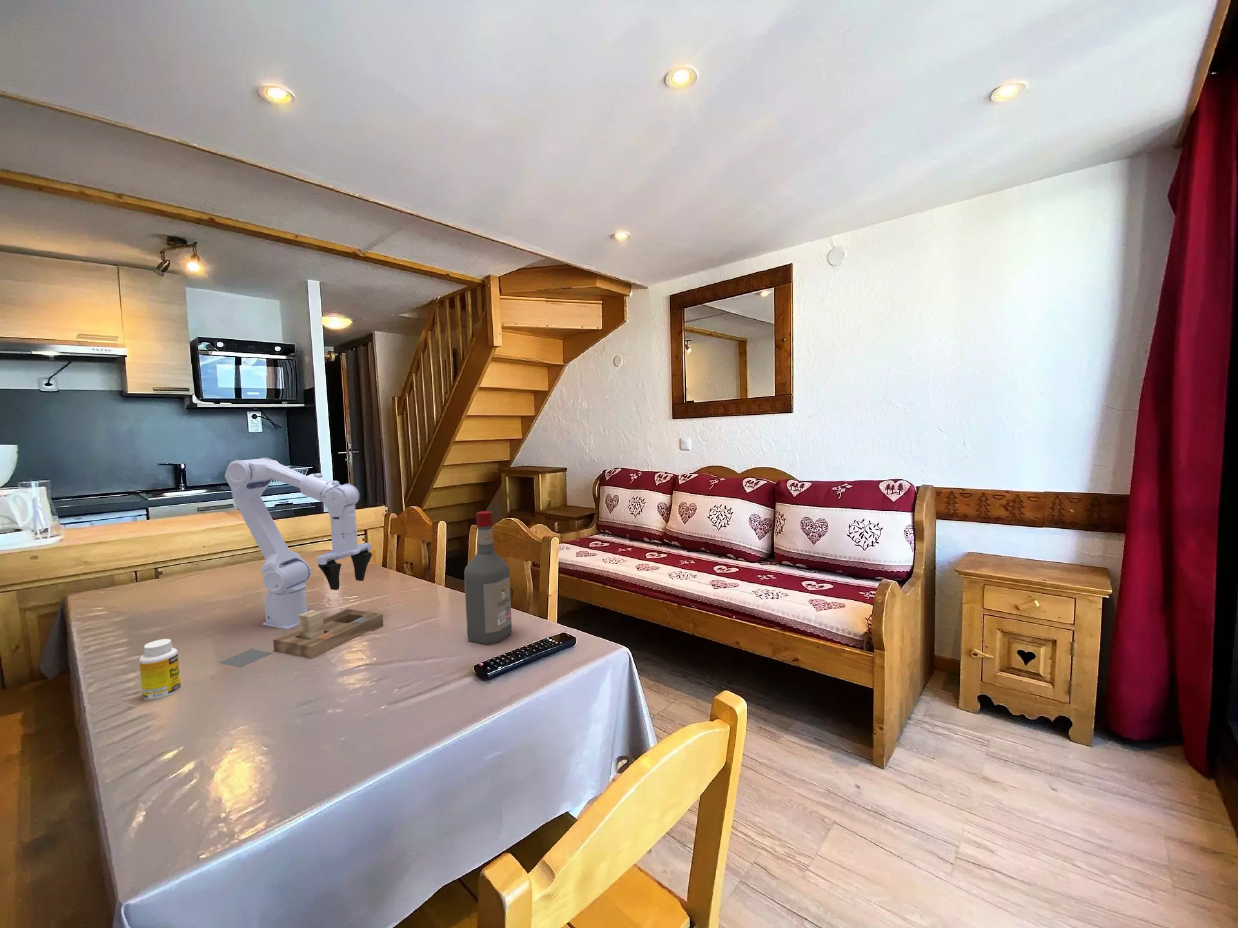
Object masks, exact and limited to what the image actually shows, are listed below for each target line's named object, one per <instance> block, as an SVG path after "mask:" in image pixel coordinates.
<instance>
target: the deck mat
mask: <svg viewBox="0 0 1238 928" xmlns="http://www.w3.org/2000/svg"><path fill="white" fill-rule="evenodd" d="M272 654H273V652H269V651H264V650H260V649H254V648H250V649H248V650H246V651H243V652H241V653H238V654H236V655H233V656H231V657H229V658H225V659H224V660H222V661H219V662H218V663H219V664H224V665H228V666H233V667H238V668H242V667H245V666H247V665H249V664H251V663H254V662H257V661H258V660H261V659H263V658H265V657H268V656H270V655H272Z"/></svg>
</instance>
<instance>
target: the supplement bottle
mask: <svg viewBox="0 0 1238 928" xmlns="http://www.w3.org/2000/svg"><path fill="white" fill-rule="evenodd" d="M138 663H139V672H140V683H141V689H142V690H141V692H142V698H143V700H147V701H151V700H154V701H155V700H159V699H163V698H166V697H169V696H171V695H173V694H175V693H177V692H178V691H179V690H180V689H181V685H182V684H181V673H180V662H179V651H178V649H176V648H174V647H173V644H172V639H170V638H162V639H156V640H153V641H150V642H148V643H145V644H144V645H143V654H142V655H141V656H140V657H139V662H138Z"/></svg>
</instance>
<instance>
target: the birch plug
mask: <svg viewBox="0 0 1238 928" xmlns="http://www.w3.org/2000/svg"><path fill="white" fill-rule="evenodd" d="M323 619H324V612H323V611H320V610H314V609H312V610H310V611H307V612H306V613H303V614H301V615H299V625H298V626H299V629H300V638H302V639H307V640H311V639H314V638H316V637H318V636H320V635H323V634H324V624H323Z"/></svg>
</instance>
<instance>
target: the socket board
mask: <svg viewBox="0 0 1238 928" xmlns="http://www.w3.org/2000/svg"><path fill="white" fill-rule="evenodd" d="M383 615H384V613H378V612H377V613H376V612H370V611H365V610H356V609H349V608H347V609H344V610H342V611H340V612H337V613H334V614H332V615H329V616H327V617H323V624H324V634H323V635H320V636H318V637H316V638H314V639H311V640H307V639H302V638H300V628H297V629H296V630H293V631H290V632H288V633H286V634H283V635H281V636H278V637H275V638H274V639H272V641H273V642H272V644H273V651H274V652H278V653H284V654H289V655H294V656H298V657H303V658H307V659H308V658H309V659H315V658H316V657H319V656H320V655H322V654H325V653H327V652H329V651H330V650H333V649H335V648H337V647H339V646H342V645H343V644H346V643H347V642H349V641H351V640H352V641H353V639H356V638H357V637H360V636H362V635H364V634H365V633H368V632H373V631H375V630H377V629H379V628H382V627H383V626H384V616H383Z"/></svg>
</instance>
